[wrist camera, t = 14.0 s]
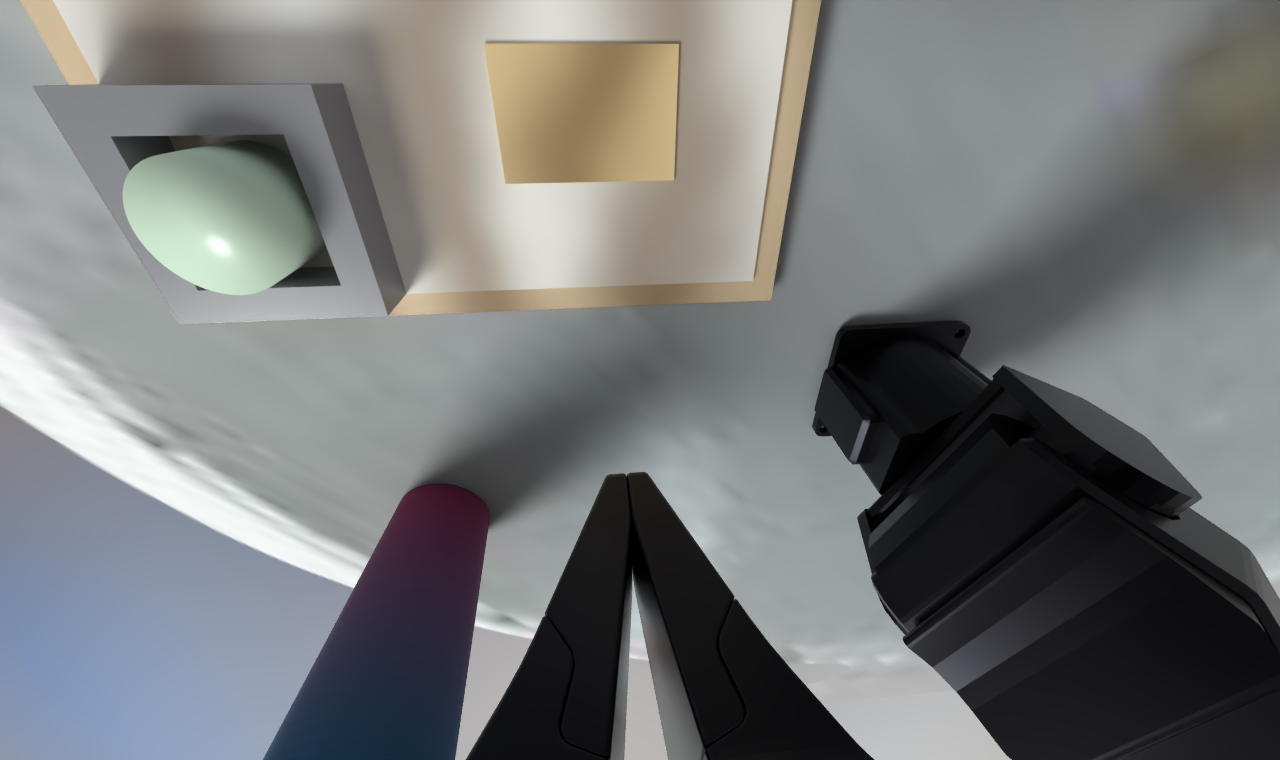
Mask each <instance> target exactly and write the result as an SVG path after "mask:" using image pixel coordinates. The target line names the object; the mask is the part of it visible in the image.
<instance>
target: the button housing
mask: <svg viewBox="0 0 1280 760" xmlns="http://www.w3.org/2000/svg"><path fill="white" fill-rule="evenodd" d="M33 88H34V90H35V91H36V93H37V95H38V96H39V98H40V99H41V101H42V103H43V104H44V106H45V108H46V109H47V111H48V112H49V114H50V116H51V117H52V119H53V120H54V122H55V124H56V125H57V127H58V129H59V130H60V132H61V133H62V135H63V137H64V138H65V140H66V141H67V143H68V145H69V146H70V148H71V150H72V151H73V153H74V154H75V156H76V158H77V159H78V161H79V163H80V164H81V166H82V167H83V169H84V171H85V172H86V174H87V175H88V177H89V179H90V180H91V182H92V184H93V185H94V187H95V188H96V190H97V192H98V193H99V195H100V197H101V198H102V200H103V201H104V203H105V205H106V206H107V208H108V209H109V211H110V213H111V214H112V216H113V218H114V219H115V221H116V222H117V224H118V226H119V227H120V229H121V231H122V232H123V234H124V235H125V237H126V239H127V240H128V242H129V243H130V245H131V247H132V248H133V250H134V252H135V253H136V255H137V256H138V258H139V260H140V261H141V263H142V264H143V266H144V268H145V269H146V271H147V273H148V274H149V276H150V277H151V279H152V281H153V282H154V284H155V286H156V287H157V289H158V290H159V292H160V294H161V295H162V297H163V298H164V300H165V302H166V303H167V305H168V307H169V308H170V310H171V311H172V313H173V315H174V316H175V318H176V320H177V321H178V323H179V324H202V323H227V322H252V321H277V320H301V319H326V318H351V317H375V316H389V314H390V313H391V312H392V311H393V310H394V308H395V307H396V306H397V305H398V303H399V302H400V301H401V300H402V299H403V297H404V296H405V295H406V291H405V287H404V284H403V281H402V277H401V274H400V271H399V267H398V264H397V261H396V258H395V254H394V251H393V248H392V244H391V241H390V238H389V234H388V231H387V228H386V224H385V221H384V218H383V215H382V211H381V208H380V205H379V201H378V198H377V195H376V191H375V188H374V185H373V181H372V178H371V175H370V172H369V168H368V165H367V162H366V158H365V155H364V152H363V148H362V145H361V142H360V138H359V135H358V132H357V128H356V125H355V122H354V119H353V115H352V112H351V109H350V105H349V102H348V99H347V95H346V92H345V89H344V85H343V83H259V84H85V85H45V86H33ZM271 134H284V137H285V140H286V142H287V145H288V148H289V150H290V153H291V155H292V158H293V161H294V163H295V166H296V168H297V171H298V174H299V176H300V179H301V182H302V184H303V187H304V189H305V192H306V195H307V197H308V200H309V203H310V205H311V208H312V210H313V213H314V216H315V218H316V221H317V223H318V226H319V229H320V231H321V234H322V237H323V239H324V242H325V244H326V247H327V250H328V252H329V255H330V258H331V260H332V263H333V265H334V266H330V267H300V268H298V269H297V270H295V271H294V272H292V273H291V274H289V275H288V276H286V277H285V278H283V279H282V280H280V281H279V282H277V283H276V284H274V285H273V286H271V287H270V288H268V289H266V290H264V291H261V292H259V293H255V294H250V295H229V294H222V293H218V292H214V291H210V290H207V289H204V288H202V287H199V286H197V285H195V284H192V283H190V282H189V281H187V280H185V279H183V278H181V277H180V276H178V275H176V274H175V273H173V272H172V271H171V270H169V269H168V268H166V267H165V266H164V265H163V264H161V263H160V262H159V261H158V260H157V259H156V258H155V257H154V256H153V255H152V254H151V253H150V252H149V251H148V250H147V249H146V248H145V246H144V245H143V244H142V243H141V242H140V240H139V239H138V237H137V236H136V234H135V233H134V231H133V229H132V227H131V225H130V224H129V221H128V219H127V216H126V213H125V209H124V205H123V196H122V195H123V186H124V182H125V179H126V177H127V175H128V173H129V172H130V170H131V169H132V168H133V167H134V166H135V165H136V164H138V163H139V162H141V161H142V160H144V159H147V158H149V157H152V156H156V155H160V154H165V153H170V152H176V150H175V148H174V146H173V144H172V142H171V140H170V138H169V136H187V135H271Z"/></svg>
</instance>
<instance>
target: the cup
mask: <svg viewBox="0 0 1280 760" xmlns="http://www.w3.org/2000/svg"><path fill="white" fill-rule="evenodd" d="M489 517H490V515H489V511H488V509H487V507H486V505H485V504H484V502H483V501H482V500H481V499H480V498H478V497H477V496H476V495H474V494H473V493H471V492H469V491H467V490H465V489H462V488H459V487H455V486H450V485H428V486H423V487H420V488H417V489H414V490H412V491H411V492H409V493H408V494H406V495H405V496H404V497H403V498H402V500H401V502H400V503H399V505H398V507H397V509H396V511H395V513H394V515H393V516H392V518H391V520H390V522H389V524H388V526H387V528H386V530H385V531H384V533H383V535H382V537H381V539H380V541H379V543H378V545H377V546H376V548H375V550H374V552H373V554H372V556H371V558H370V560H369V561H368V563H367V565H366V567H365V569H364V571H363V573H362V575H361V577H360V578H359V580H358V582H357V584H356V586H355V588H354V590H353V592H352V593H351V595H350V597H349V599H348V601H347V603H346V605H345V607H344V608H343V611H342V612H341V614H340V616H339V618H338V620H337V622H336V623H335V626H334V628H333V629H332V631H331V633H330V635H329V637H328V639H327V641H326V643H325V644H324V646H323V648H322V650H321V652H320V654H319V656H318V658H317V659H316V661H315V663H314V665H313V667H312V669H311V670H310V672H309V674H308V676H307V678H306V680H305V682H304V684H303V686H302V687H301V689H300V691H299V693H298V695H297V697H296V699H295V700H294V702H293V704H292V706H291V708H290V710H289V712H288V714H287V715H286V717H285V719H284V721H283V723H282V725H281V727H280V729H279V731H278V732H277V734H276V736H275V738H274V740H273V742H272V744H271V746H270V747H269V749H268V751H267V753H266V755H265V757H264V759H263V760H455V755H456V749H457V741H458V735H459V728H460V721H461V714H462V706H463V699H464V693H465V686H466V679H467V672H468V665H469V658H470V651H471V644H472V637H473V630H474V624H475V617H476V610H477V603H478V596H479V589H480V582H481V575H482V568H483V561H484V554H485V547H486V540H487V533H488V526H489Z"/></svg>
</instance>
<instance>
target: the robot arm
mask: <svg viewBox="0 0 1280 760" xmlns="http://www.w3.org/2000/svg"><path fill="white" fill-rule="evenodd" d="M958 330H959V331H958ZM957 331H958V333H956V332H957ZM955 333H956V334H955ZM969 334H970V327H969V326H968V325H966V324H965V323H963V322H962V321H944V322H922V323H900V324H878V325H856V326H846V327H843V328H841V329H840V330H839V331H838V333H837V335H836V338H835V341H834V345H833V349H832V353H831V357H830V360H829V364H828V367H827V369H826V370H825V371H824V375H823V379H822V382H821V386H820V390H819V394H818V398H817V402H816V405H815V411H816V414H815V417H814V421H813V425H812V428H813V430H814V431H815V433H816V434H817V435H818V436H832V437H833V438H834V440H835V441H836V443H837V444H838V446H839V447H840V449H841V450H842V452H843V453H844V455H845V456H846V458H847V459H848V460H849V461H850V462H851V463H852V464H860V466H861V467H862V469H863V470H864V472H865V473H866V474H867V476H868V477H869V479H870V480H871V482H872V483H873V485H874V486H875V488H876V489H877V490H878V492H879V493H880V494H881V497H880V498H879V499H878V500H877V501H876V502H875V503H874V504H873V505H872V506H871V507H870V508H869V509H865V510H864V511H863V512H862V513H861V514H860V515H859V516H858V517H857V519H858V523H859V526H860V530H861V534H862V538H863V542H864V545H865V549H866V553H867V557H868V560H869V564H870V568H871V572H872V576H871V579H872V583H873V586H874V588H875V590H876V591H877V593H878V596H879V599H880V601H881V603H882V605H883V607H884V609H885V611H886V612H887V614H889V616H890V617H891V619H892V620H893V621H894V623H895V624H896V625H897V626H898V627H899V628H900V630H901V631H902V632H903V633H904V634H905V636H904V637H903V641H904V643H905V644H906V646H907V647H908V648H909V649H911V650H912V651H913V652H914V653H916V654H917V655H918V656H919V657H921V658H922V659H923V660H924V661H925V662H927V663H928V664H929V665H930V666H932V667H933V668H934V669H935V670H936V671H937V672H938V673H939V674H940V675H941V676H942V677H943V679H944V680H945V681H946V682H947V683H948V684H949V685H950V686H951V687H952V688H953V689H954V690H955V691H956V692H957V693H958V694H959V695H960V697H961V698H962V699H963V700H964V702H965V703H966V704H967V705H968V706H969V708H970V709H971V710H972V711H973V713H974V714H975V715H976V716H977V718H978V719H979V720H980V722H981V723H982V724H983V726H984V727H985V728H986V730H987V731H988V732H989V733H990V735H991V736H992V737H993V739H994V740H995V741H996V743H997V744H998V745H999V746H1000V748H1001V749H1002V750H1003V752H1004V753H1005V754H1006V755H1007V756H1008V757H1009V758H1011V759H1012V760H1280V599H1279V597H1278V596H1277V594H1276V592H1275V590H1274V589H1273V587H1272V585H1271V584H1270V582H1269V580H1268V578H1267V577H1266V575H1265V573H1264V572H1263V570H1262V568H1261V566H1260V565H1259V563H1258V561H1257V559H1256V558H1255V556H1254V555H1253V554H1252V552H1251V551H1250V550H1249V549H1248V548H1247V547H1246V546H1245V545H1243V544H1242V543H1241V542H1240V541H1238V540H1237V539H1235V538H1234V537H1232V536H1231V535H1229V534H1228V533H1226V532H1225V531H1223V530H1222V529H1220V528H1219V527H1217V526H1216V525H1214V524H1213V523H1211V522H1210V521H1209V520H1207V519H1206V518H1204V517H1203V516H1201V515H1200V514H1198V513H1197V512H1195V511H1194V510H1192V509H1191V508H1189V507H1190V506H1192V505H1193V504H1195V503H1196V502H1198V501H1199V500H1200V499H1202V497H1201V495H1200V494H1199V493H1198V491H1197V490H1196V489H1195V488H1194V487H1193V486H1192V485H1191V484H1190V483H1189V482H1188V481H1187V480H1186V479H1185V478H1184V477H1183V476H1182V475H1181V473H1180V472H1179V471H1178V470H1177V469H1176V468H1175V467H1174V466H1173V465H1172V464H1171V463H1170V462H1169V461H1168V460H1167V459H1166V458H1165V457H1164V455H1163V454H1162V453H1161V452H1160V451H1159V450H1158V449H1157V448H1156V447H1155V446H1154V445H1153V444H1152V443H1151V442H1150V441H1149V440H1148V439H1147V438H1146V437H1145V436H1144V435H1142V434H1141V433H1139V432H1137V431H1136V430H1134V429H1133V428H1131V427H1129V426H1128V425H1126V424H1124V423H1123V422H1121V421H1119V420H1118V419H1116V418H1115V417H1113V416H1111V415H1110V414H1108V413H1106V412H1105V411H1103V410H1101V409H1100V408H1098V407H1097V406H1095V405H1093V404H1092V403H1090V402H1088V401H1087V400H1085V399H1083V398H1081V397H1078V396H1076V395H1074V394H1071V393H1069V392H1067V391H1064V390H1062V389H1059V388H1057V387H1055V386H1052V385H1050V384H1047V383H1045V382H1043V381H1040V380H1038V379H1035V378H1033V377H1031V376H1028V375H1026V374H1023V373H1021V372H1019V371H1016V370H1014V369H1011V368H1009V367H1007V366H1004V365H1003V366H1002V367H1001V368H1000V369H999V370H998V371H997V372H996V373H995V374H994V375H993V376H992V377H993V378H994V379H993V380H992V381H991V380H990V379H989V378H987V377H986V376H985V375H983V374H982V373H981V372H979V371H978V370H977V369H976V368H974V367H973V366H972V365H970V364H969V363H968V362H966V361H965V360H964V359H962V358H961V357H960V354H961V352H962V350H963V348H964V345H965V343H966V341H967V339H968V336H969ZM848 335H851V336H850V338H848V339H846V340H845V338H846V337H847V336H848ZM822 426H824V427H823V428H821V427H822ZM632 572H633V581H634V587H635V592H636V597H637V603H638V608H639V613H640V618H641V623H642V628H643V633H644V638H645V643H646V648H647V653H648V658H649V663H650V669H651V673H652V679H653V684H654V689H655V694H656V699H657V704H658V709H659V714H660V719H661V724H662V729H663V735H664V740H665V745H666V750H667V755H668V760H874V759H873V758H872V757H871V756H870V755H869V754H867V753H866V752H865V751H864V750H863V749H862V748H861V747H860V746H859V745H858V744H857V743H856V742H855V740H854V739H853V738H852V737H851V736H850V735H849V734H848V733H847V732H846V731H845V730H844V728H843V727H842V726H841V725H840V724H839V723H838V722H837V721H836V719H835V718H834V717H833V716H832V715H831V714H830V713H829V711H828V710H827V709H826V708H825V707H824V706H823V705H822V703H821V702H820V701H819V700H818V699H817V698H816V697H815V696H814V694H813V693H812V692H811V691H810V690H809V689H808V688H807V686H806V685H805V684H804V683H803V682H802V681H801V680H800V679H799V678H798V676H797V675H796V674H795V673H794V672H793V671H792V670H791V668H789V666H788V665H787V664H786V663H785V661H784V660H783V659H782V658H781V657H780V655H779V654H778V653H777V652H776V651H775V649H774V648H773V647H772V646H771V645H770V644H769V642H768V641H767V640H766V639H765V637H764V636H763V635H762V633H761V632H760V631H759V629H758V628H757V627H756V625H755V624H754V623H753V621H752V620H751V619H750V617H749V616H748V614H747V613H746V612H745V610H744V609H743V607H742V606H741V605H740V603H739V602H738V600H736V599H734V595H733V594H732V592H731V591H730V589H729V588H728V587H727V585H726V584H725V582H724V581H723V579H722V578H721V577H720V575H719V574H718V572H717V571H716V570H715V568H714V567H713V565H712V564H711V563H710V561H709V560H708V558H707V557H706V555H705V554H704V553H703V551H702V550H701V548H700V547H699V546H698V544H697V543H696V541H695V540H694V539H693V537H692V536H691V534H690V533H689V531H688V530H687V529H686V527H685V526H684V524H683V523H682V522H681V520H680V519H679V517H678V516H677V514H676V513H675V512H674V510H673V509H672V507H671V506H670V505H669V503H668V502H667V500H666V499H665V498H664V496H663V495H662V493H661V492H660V490H659V489H658V488H657V486H656V485H655V483H654V482H653V481H652V479H651V478H650V476H649V475H648V474H647V473H645V472H637V473H629V474H628V475H627V476H626V474H623V473H622V474H609V475H607V476H606V478H605V480H604V482H603V484H602V486H601V489H600V491H599V493H598V495H597V498H596V500H595V502H594V504H593V507H592V509H591V511H590V513H589V516H588V518H587V520H586V522H585V525H584V527H583V529H582V531H581V533H580V536H579V538H578V540H577V542H576V545H575V547H574V549H573V551H572V554H571V556H570V558H569V560H568V563H567V565H566V567H565V569H564V572H563V574H562V576H561V578H560V581H559V583H558V585H557V587H556V589H555V592H554V594H553V596H552V598H551V601H550V603H549V605H548V607H547V610H546V612H545V616H544V617H543V618H542V620H541V623H540V625H539V627H538V629H537V631H536V634H535V636H534V638H533V640H532V642H531V644H530V646H529V648H528V650H527V653H526V655H525V657H524V659H523V661H522V663H521V665H520V667H519V669H518V670H517V672H516V674H515V676H514V678H513V679H512V681H511V683H510V685H509V687H508V688H507V690H506V692H505V694H504V696H503V697H502V699H501V701H500V702H499V704H498V706H497V708H496V709H495V711H494V713H493V714H492V716H491V718H490V720H489V721H488V723H487V725H486V726H485V728H484V730H483V731H482V733H481V735H480V736H479V738H478V740H477V742H476V743H475V745H474V747H473V748H472V750H471V752H470V753H469V755H468V757H467V759H466V760H624V750H625V729H626V709H627V688H628V667H629V646H630V626H631V605H632Z"/></svg>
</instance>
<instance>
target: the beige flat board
mask: <svg viewBox="0 0 1280 760" xmlns="http://www.w3.org/2000/svg"><path fill="white" fill-rule="evenodd" d="M20 1H21V3H22V4H23V6H24V8H25V10H26V11H27V13H28V15H29V17H30V18H31V20H32V22H33V23H34V25H35V27H36V29H37V30H38V32H39V34H40V35H41V37H42V39H43V41H44V42H45V44H46V46H47V48H48V49H49V51H50V53H51V54H52V56H53V58H54V60H55V61H56V63H57V65H58V67H59V68H60V70H61V72H62V73H63V75H64V77H65V79H66V80H67V82H68V84H69V85H85V84H259V83H343V85H344V89H345V92H346V95H347V99H348V102H349V105H350V109H351V112H352V115H353V119H354V122H355V125H356V128H357V132H358V135H359V138H360V142H361V145H362V148H363V152H364V155H365V158H366V162H367V165H368V168H369V172H370V175H371V178H372V181H373V185H374V188H375V191H376V195H377V198H378V201H379V205H380V208H381V211H382V215H383V218H384V221H385V224H386V228H387V231H388V234H389V238H390V241H391V244H392V248H393V251H394V254H395V258H396V261H397V264H398V267H399V271H400V274H401V277H402V281H403V284H404V287H405V291H406V295H405V296H404V297H403V299H402V300H401V301H400V302H399V303H398V305H397V306H396V307H395V308H394V310H393V311H392V312H391V313H390V314H389V316H394V315H419V314H444V313H469V312H493V311H518V310H543V309H568V308H592V307H617V306H642V305H666V304H691V303H716V302H741V301H765V300H771V298H772V292H773V286H774V280H775V274H776V268H777V262H778V256H779V250H780V244H781V238H782V232H783V226H784V220H785V214H786V208H787V202H788V196H789V190H790V184H791V178H792V172H793V166H794V160H795V154H796V148H797V142H798V136H799V131H800V125H801V119H802V113H803V107H804V101H805V95H806V89H807V83H808V77H809V71H810V65H811V59H812V53H813V47H814V41H815V35H816V29H817V23H818V17H819V11H820V5H821V0H20ZM169 138H170V140H171V142H172V144H173V146H174V148H175V150H176V151H181V150H186V149H191V148H196V147H202V146H207V145H212V144H217V143H222V142H228V141H234V140H250V141H256V142H260V143H264V144H267V145H270V146H272V147H274V148H277V149H279V150H281V151H283V152H284V153H286V154H288V155H289V156H291V157H292V155H291V153H290V150H289V148H288V145H287V142H286V140H285V137H284V134H271V135H187V136H169ZM330 266H334V265H333V263H332V260H331V258H330V255H329V252H328V250H327V247H326V248H325V249H324V250H323V251H322V252H321V253H320V254H319V255H317V256H316V257H314V258H313V259H311V260H310V261H308V262H307V263H306V264H304V265H303V266H301V267H330Z"/></svg>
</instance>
